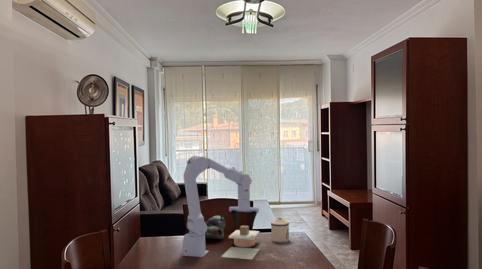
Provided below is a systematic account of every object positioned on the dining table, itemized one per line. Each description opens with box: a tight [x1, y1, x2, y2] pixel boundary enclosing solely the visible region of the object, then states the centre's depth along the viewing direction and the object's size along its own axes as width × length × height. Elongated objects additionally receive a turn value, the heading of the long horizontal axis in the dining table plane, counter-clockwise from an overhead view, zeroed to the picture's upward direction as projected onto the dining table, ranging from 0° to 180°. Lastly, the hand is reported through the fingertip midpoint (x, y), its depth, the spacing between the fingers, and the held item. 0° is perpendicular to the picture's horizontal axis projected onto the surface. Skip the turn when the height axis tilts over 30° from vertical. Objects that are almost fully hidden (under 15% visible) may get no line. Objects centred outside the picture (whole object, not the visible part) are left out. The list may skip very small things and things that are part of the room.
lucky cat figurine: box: [205, 214, 226, 241], centre depth 187 cm, size 15×12×14 cm
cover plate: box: [228, 225, 260, 240], centre depth 175 cm, size 12×12×4 cm
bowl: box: [233, 237, 257, 248], centre depth 175 cm, size 10×10×4 cm
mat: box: [220, 246, 261, 260], centre depth 162 cm, size 14×14×1 cm
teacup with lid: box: [270, 216, 290, 243], centre depth 182 cm, size 12×9×12 cm
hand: (244, 226), depth 175 cm, fingers open, 7 cm apart
